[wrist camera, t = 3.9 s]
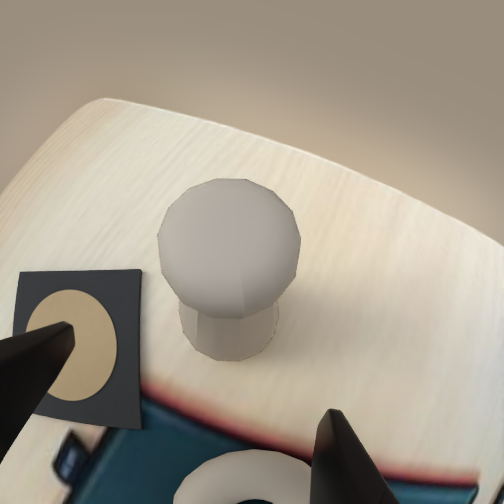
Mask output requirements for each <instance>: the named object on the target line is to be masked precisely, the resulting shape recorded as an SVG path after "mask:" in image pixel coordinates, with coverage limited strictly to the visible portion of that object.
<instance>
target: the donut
mask: <svg viewBox="0 0 504 504" xmlns="http://www.w3.org/2000/svg"><path fill="white" fill-rule="evenodd" d="M310 483H311V467H310V466H308V465H307V464H306V463H305V462H303V461H301V460H298V459H295V458H293V457H290V456H288V455H285V454H283V453H280V452H274V451H264V450H256V449H252V450H245V451H237V452H229V453H226V454H223V455H221V456H219V457H216V458H214V459H211V460H209V461H206V462H204V463H203V464H202V465H200V466H199V467H198V468H197V469H195V470H194V471H193V472H192V473H190V474H189V475H188V476H186V477H185V479H184V480H183V482H182V484H181V485H180V487H179V489H178V490H177V492H176V493H175V495H174V501H173V504H237V503H239V502H242V501H244V500H250V499H261V500H266V501H269V502H272V503H273V504H309V502H310Z"/></svg>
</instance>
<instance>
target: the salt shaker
mask: <svg viewBox="0 0 504 504" xmlns="http://www.w3.org/2000/svg"><path fill="white" fill-rule="evenodd" d="M157 237H158V247H159V255H160V263H161V271H162V274H163V276H164V277H165V279H166V280H167V282H168V283H169V285H170V286H171V288H172V289H173V291H174V292H175V294H176V295H177V296H178V298H179V299H180V303H179V314H180V319H181V324H182V329H183V333H184V334H185V335H186V337H187V338H188V340H189V341H190V342H191V344H192V345H193V347H194V348H195V349H196V350H197V351H199V352H201V353H203V354H205V355H207V356H209V357H211V358H213V359H215V360H218V361H241V360H243V359H246V358H248V357H250V356H252V355H254V354H256V353H258V352H261V350H262V349H263V348H264V347H265V345H266V344H267V343H268V342H269V340H270V339H271V338H272V337H273V336H274V334H275V330H276V325H277V320H278V316H279V310H278V304H277V299H278V298H279V297H280V295H281V294H282V293H283V292H284V291H285V289H286V288H287V287H288V286H289V284H290V283H291V282H292V281H293V279H294V278H295V275H296V269H297V264H298V258H299V252H300V244H301V237H300V234H299V231H298V227H297V224H296V221H295V217H294V214H293V211H292V210H291V209H290V208H289V207H288V206H287V205H286V204H285V203H284V202H283V201H282V200H281V199H280V198H279V197H278V196H277V195H276V194H275V193H274V192H273V191H272V190H270V189H267V188H265V187H263V186H261V185H258V184H256V183H254V182H252V181H249V180H247V179H214V180H211V181H208V182H205V183H202V184H200V185H197V186H194V187H191V188H189V189H188V190H187V191H186V192H185V193H183V194H182V195H181V196H180V197H179V198H178V199H177V200H176V201H175V202H174V203H173V204H172V205H171V206H170V207H169V208H168V210H167V212H166V215H165V217H164V219H163V222H162V224H161V227H160V229H159V232H158V234H157Z"/></svg>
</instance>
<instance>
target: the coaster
mask: <svg viewBox="0 0 504 504" xmlns="http://www.w3.org/2000/svg"><path fill="white" fill-rule="evenodd" d="M141 273H142V271H141V270H140V269H128V270H88V271H37V272H20V275H19V281H18V287H17V295H16V303H15V312H14V322H13V335H12V336H16V335H19V334H22V333H25V332H29V331H32V330H35V329H38V328H42V327H45V326H48V325H51V324H54V323H58V322H61V321H65V322H67V323H69V324H72V325H73V327H74V334H75V347H74V349H73V351H72V353H71V355H70V356H69V358H68V360H67V361H66V363H65V365H64V367H63V368H62V370H61V372H60V374H59V376H58V377H57V379H56V380H55V382H54V383H53V385H52V386H51V387H50V389H49V390H48V392H47V393H46V395H45V396H44V397H43V399H42V400H41V402H40V403H39V405H38V406H37V407H36V409H35V410H34V412H33V413H34V414H38V415H43V416H47V417H52V418H57V419H62V420H67V421H73V422H79V423H85V424H92V425H99V426H107V427H116V428H126V429H138V430H142V429H143V423H142V408H141V389H140V293H141Z"/></svg>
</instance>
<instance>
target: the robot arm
mask: <svg viewBox="0 0 504 504" xmlns="http://www.w3.org/2000/svg"><path fill="white" fill-rule="evenodd" d="M74 347H75V334H74V327H73V325H72V324H69V323H67V322H65V321H61V322H58V323H54V324H51V325H48V326H45V327H42V328H38V329H35V330H32V331H29V332H25V333H22V334H19V335H16V336H12V337H9V338H6V339H2V340H0V464H1V462H2V460H3V459H4V458H3V457H5V455H6V453H7V452H8V450H9V449H10V447H11V445H12V444H13V442H14V441H15V439H16V438H17V436H18V434H19V433H20V431H21V430H22V428H23V427H24V425H25V424H26V422H27V421H28V419H29V418H30V416H31V415H32V413H33V412H34V410H35V409H36V407H37V406H38V405H39V403H40V402H41V400H42V399H43V397H44V396H45V395H46V393H47V392H48V390H49V389H50V387H51V386H52V385H53V383H54V382H55V380H56V379H57V377H58V376H59V374H60V372H61V370H62V368H63V367H64V365H65V363H66V361H67V360H68V358H69V356H70V355H71V353H72V351H73V349H74ZM309 504H400V503H399V501H398V500H397V498H396V497H395V496H394V494H393V492H392V491H391V489H390V488H389V487H388V485H387V483H386V481H385V480H384V478H383V477H382V475H381V474H380V472H379V470H378V469H377V467H376V466H375V464H374V462H373V461H372V459H371V458H370V456H369V454H368V453H367V451H366V450H365V448H364V446H363V445H362V443H361V442H360V440H359V438H358V437H357V435H356V434H355V432H354V430H353V429H352V427H351V426H350V424H349V422H348V421H347V419H346V418H345V416H344V414H343V413H342V411H340V410H336V409H328V410H327V412H326V413H325V415H324V416H323V418H322V419H321V421H320V422H319V424H318V428H317V434H316V440H315V447H314V453H313V459H312V466H311V483H310V502H309Z"/></svg>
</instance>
